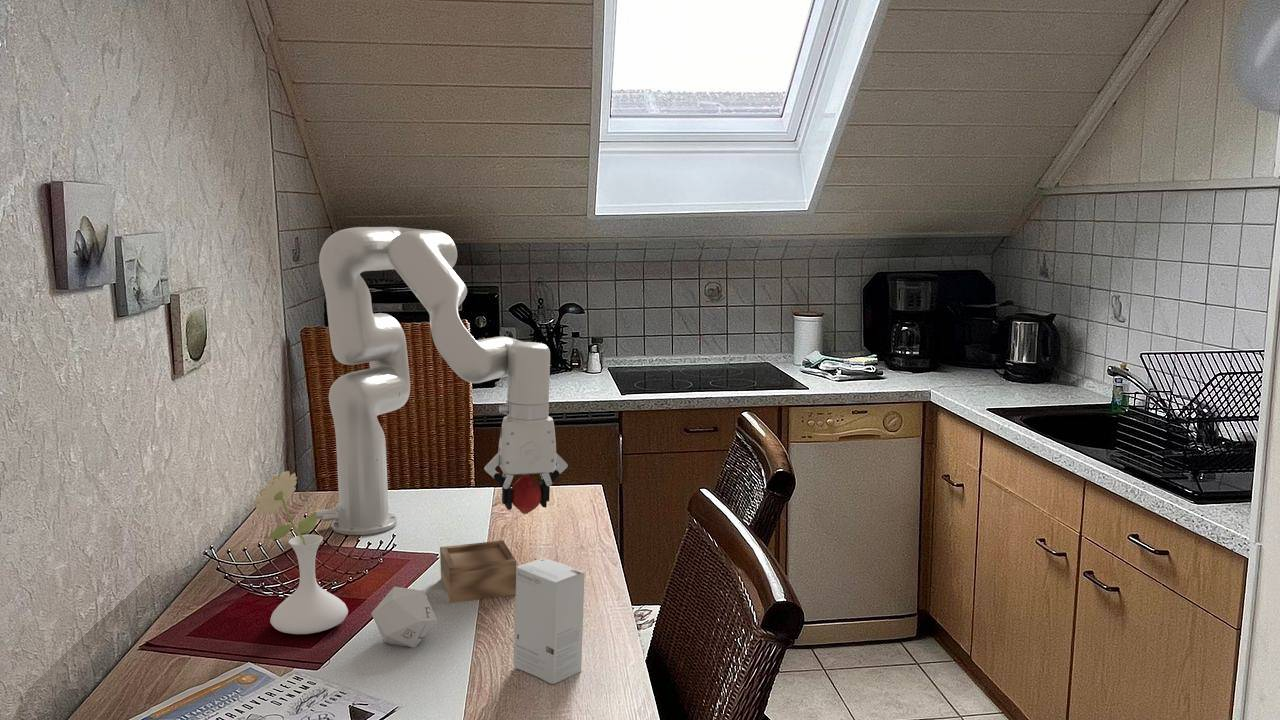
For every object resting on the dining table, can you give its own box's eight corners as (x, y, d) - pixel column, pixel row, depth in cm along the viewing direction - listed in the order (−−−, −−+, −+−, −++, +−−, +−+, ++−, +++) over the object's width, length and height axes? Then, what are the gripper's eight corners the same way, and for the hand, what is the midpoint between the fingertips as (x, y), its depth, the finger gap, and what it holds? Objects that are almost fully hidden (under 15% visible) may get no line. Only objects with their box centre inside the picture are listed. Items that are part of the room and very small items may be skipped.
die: (388, 664, 142) (428, 610, 142) (350, 624, 145) (389, 571, 145) (418, 660, 149) (456, 609, 149) (381, 623, 153) (419, 572, 152)
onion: (544, 510, 186) (545, 468, 185) (537, 520, 180) (539, 477, 179) (513, 507, 187) (514, 466, 185) (506, 517, 181) (507, 475, 180)
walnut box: (450, 602, 162) (449, 568, 161) (440, 579, 172) (439, 547, 172) (516, 594, 166) (516, 560, 165) (503, 571, 176) (503, 540, 175)
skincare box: (512, 668, 139) (510, 566, 137) (543, 654, 144) (542, 555, 141) (555, 686, 134) (554, 581, 131) (586, 671, 138) (585, 568, 136)
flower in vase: (326, 605, 161) (319, 454, 157) (362, 626, 153) (355, 468, 149) (247, 628, 152) (237, 469, 148) (280, 652, 144) (271, 484, 140)
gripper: (484, 417, 174) (482, 516, 177) (579, 413, 180) (576, 509, 183) (476, 407, 181) (475, 503, 184) (568, 404, 186) (565, 497, 190)
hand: (525, 505), depth 183 cm, fingers closed on onion, 5 cm apart
